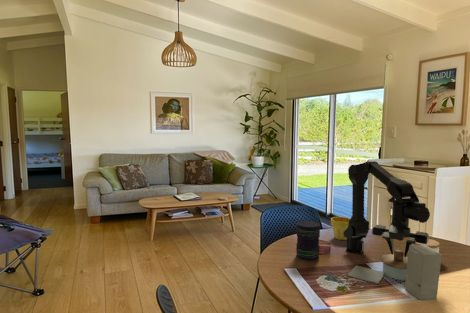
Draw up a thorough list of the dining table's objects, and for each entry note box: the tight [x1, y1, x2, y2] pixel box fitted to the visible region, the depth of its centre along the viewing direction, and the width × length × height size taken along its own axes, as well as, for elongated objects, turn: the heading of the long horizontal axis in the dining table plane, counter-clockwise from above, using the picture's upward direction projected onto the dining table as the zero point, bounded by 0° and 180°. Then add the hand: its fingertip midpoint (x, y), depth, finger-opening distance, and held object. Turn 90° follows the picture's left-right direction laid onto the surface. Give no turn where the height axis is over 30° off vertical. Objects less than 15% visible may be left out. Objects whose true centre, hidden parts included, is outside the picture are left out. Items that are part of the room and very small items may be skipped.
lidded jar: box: [412, 238, 440, 253], centre depth 141 cm, size 11×11×9 cm
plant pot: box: [330, 216, 351, 241], centre depth 169 cm, size 10×10×10 cm
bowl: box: [382, 262, 407, 281], centre depth 127 cm, size 10×10×4 cm
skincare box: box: [404, 245, 443, 301], centre depth 111 cm, size 8×7×16 cm
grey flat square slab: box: [347, 265, 386, 285], centre depth 126 cm, size 11×11×1 cm
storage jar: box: [295, 219, 321, 262], centre depth 143 cm, size 10×10×15 cm
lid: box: [380, 249, 408, 269], centre depth 126 cm, size 12×12×4 cm
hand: (398, 255), depth 127 cm, fingers open, 4 cm apart
